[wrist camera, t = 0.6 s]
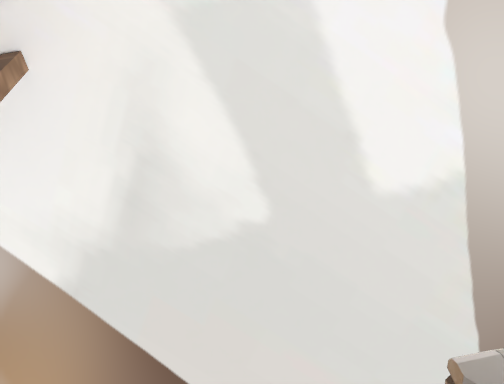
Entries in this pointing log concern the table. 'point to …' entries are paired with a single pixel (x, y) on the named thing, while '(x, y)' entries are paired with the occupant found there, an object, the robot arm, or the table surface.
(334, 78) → the table surface
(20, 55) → the brown stool
